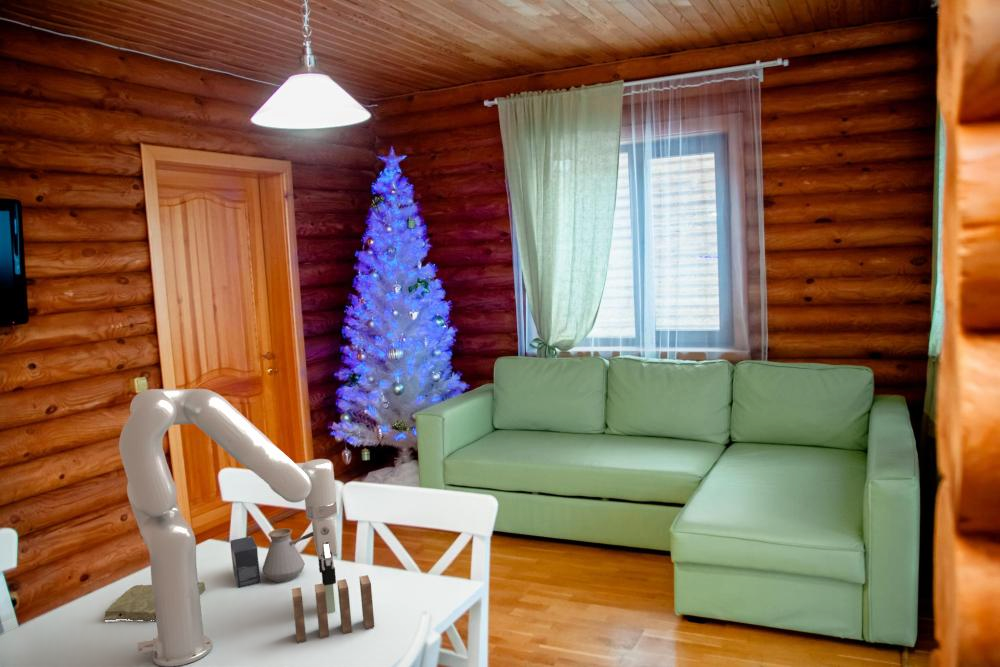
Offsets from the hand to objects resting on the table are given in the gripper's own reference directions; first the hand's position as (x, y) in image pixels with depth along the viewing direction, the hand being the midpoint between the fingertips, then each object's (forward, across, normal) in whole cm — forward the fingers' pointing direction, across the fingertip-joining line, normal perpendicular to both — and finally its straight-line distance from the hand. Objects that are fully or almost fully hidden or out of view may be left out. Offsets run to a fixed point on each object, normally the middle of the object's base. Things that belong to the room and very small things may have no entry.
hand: (327, 577), depth 200 cm
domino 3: (+8, 0, 0) cm, 8 cm away
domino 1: (+8, -13, +8) cm, 17 cm away
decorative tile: (+9, +22, +43) cm, 49 cm away
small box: (+8, +30, +20) cm, 37 cm away
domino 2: (+8, -13, +3) cm, 16 cm away
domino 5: (+8, -13, -8) cm, 17 cm away
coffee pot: (+8, +24, +6) cm, 26 cm away
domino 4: (+8, -13, -2) cm, 16 cm away
